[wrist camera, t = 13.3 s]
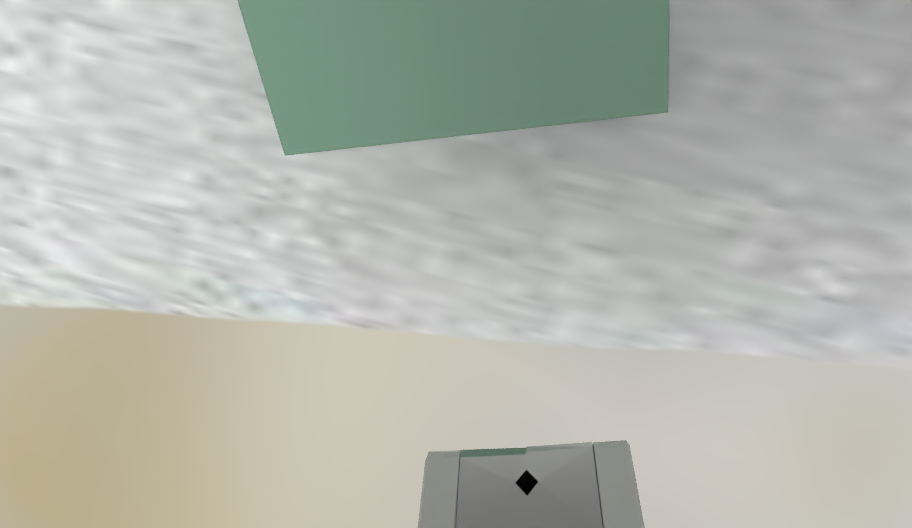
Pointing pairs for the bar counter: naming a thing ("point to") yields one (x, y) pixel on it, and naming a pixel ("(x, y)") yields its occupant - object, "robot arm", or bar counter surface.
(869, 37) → the bar counter surface
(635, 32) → the board
